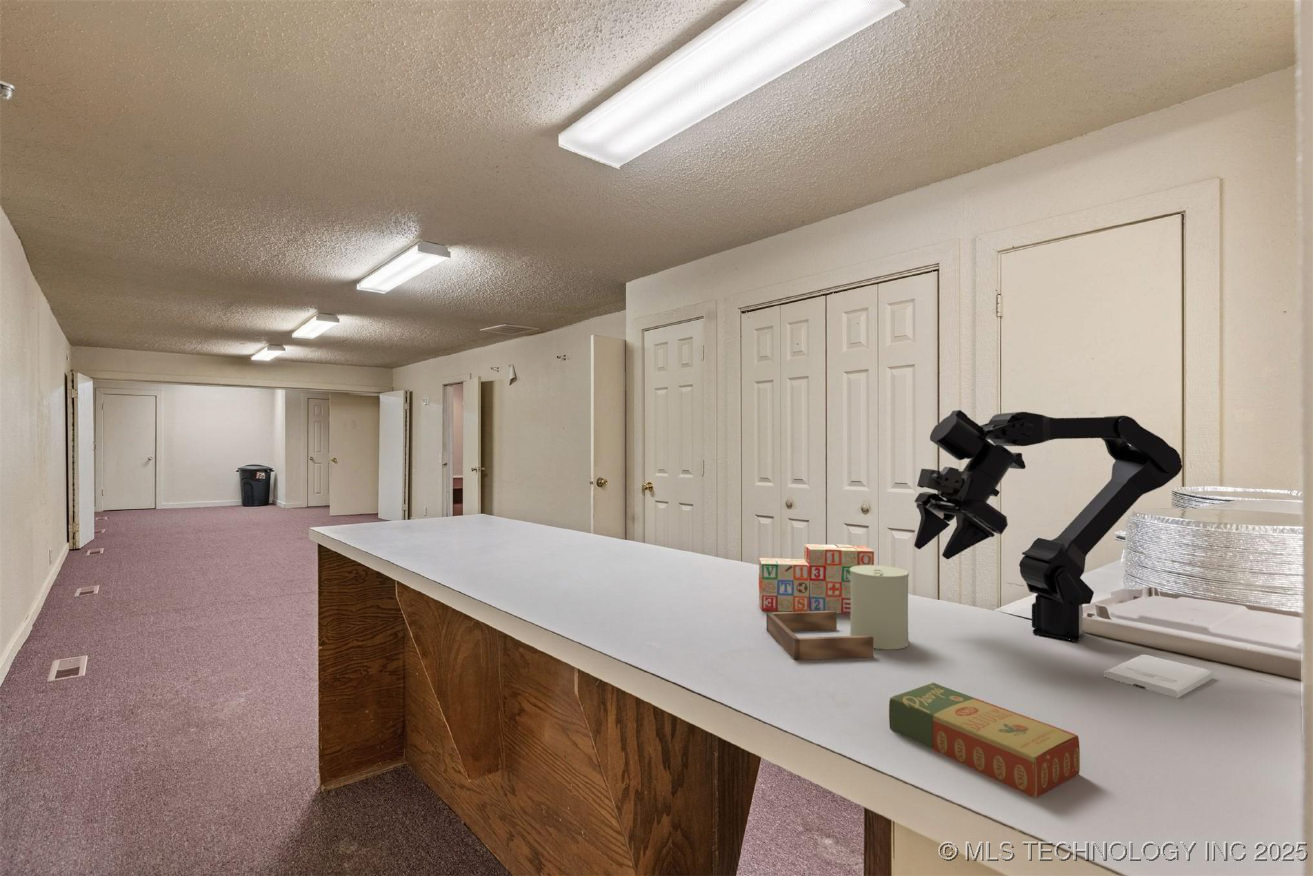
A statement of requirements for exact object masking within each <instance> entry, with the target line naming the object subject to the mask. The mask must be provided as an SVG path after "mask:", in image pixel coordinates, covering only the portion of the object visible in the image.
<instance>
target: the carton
mask: <svg viewBox="0 0 1313 876" xmlns="http://www.w3.org/2000/svg"><path fill="white" fill-rule="evenodd" d="M888 721H889V729H890V730H891V731H893V732H896V733H897V734H899V733H900V735H902V736H904V737H906V738H908V739H910V740H912V741H915V742H916V743H919V744H921V745H923V746H925V747H927V748H929V749H931V750H934V751H935V752H937V753H939V754H942V755H943V756H946V757H949V758H950V759H952V760H954V761H956V762H958V763H960V764H963V765H964V766H966V767H968V768H971V769H973V770H975V771H977V772H979V773H982V774H983V775H986V776H988V777H990V778H992V779H994V780H995V781H998V782H1000V783H1002V784H1004V785H1006V786H1009V787H1010V788H1013V789H1014V790H1017V791H1019V792H1021V793H1023V794H1025V795H1027V796H1030V797H1031V798H1032V799H1033V798H1034V799H1037V798H1038V797H1040V796H1042V795H1044V794H1047V793H1048V792H1049V791H1051V790H1053V789H1055V788H1056V787H1059V786H1060V784H1061V785H1062V783H1063V784H1064V783H1066V782H1068V781H1070V780H1072V779H1074V778H1076V777H1077V776H1076V775H1078V774H1079V775H1080V770H1081V758H1080V757H1081V756H1080V755H1081V751H1080V750H1081V749H1080V739H1079V736H1078V734H1076V733H1073V732H1071V731H1067V730H1065V729H1062V728H1060V727H1056V726H1054V725H1051V724H1049V723H1046V722H1043V721H1041V720H1040V721H1039V720H1037V719H1034V718H1031V717H1028V716H1026V715H1024V714H1020V713H1017V712H1016V711H1015V712H1014V711H1012V710H1009V709H1006V708H1004V707H1001V706H998V705H996V704H993V703H990V702H987V701H984V700H982V699H979V698H976V697H973V696H971V695H968V694H966V693H962V692H960V691H957V690H954V689H952V688H949V687H945V686H943V685H940V684H939V683H936V682H931V683H927V684H926V685H922V686H920V687H917V688H914V689H911V690H908V691H905V692H901V693H899V694H896V695H892V696H890V698H889V704H888ZM1079 775H1078V776H1079ZM1075 776H1076V777H1075ZM1073 777H1074V778H1073ZM1071 778H1072V779H1071ZM1069 779H1070V780H1069Z"/></svg>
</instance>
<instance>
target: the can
mask: <svg viewBox="0 0 1313 876" xmlns="http://www.w3.org/2000/svg"><path fill="white" fill-rule="evenodd" d="M909 575H910V573H909V571H908V570H906V569H903V568H900V567H895V566H889V565H880V564H879V565H878V564H876V565H875V564H874V565H859V566H853V567H851V568H850V581H851V614H850V630H849V631H850V632H849V636H867V635H871V636H873V649H874V648H875V649H874V650H881V651H882V650H885V651H893V650H902V649H901V648H903V649H906V648H907V647H909V645H910V640H909ZM905 647H906V648H905Z"/></svg>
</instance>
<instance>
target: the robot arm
mask: <svg viewBox="0 0 1313 876" xmlns="http://www.w3.org/2000/svg"><path fill="white" fill-rule="evenodd" d="M1065 439H1066V440H1069V439H1074V440H1075V439H1101V440H1102V441H1103V442H1104V444H1105V448H1106V451H1107V454H1109V456H1110V457H1111V458H1113V460H1114V463H1112V467H1111V476H1110V477H1111V478H1110V479H1109V481H1108V482H1107V483H1106V484H1105V485H1104V487H1103V488H1102V489H1100V490H1099V492H1098V493H1097V494H1096V495H1095V496H1094V497H1093V498H1092V500H1090V501H1089V503H1088V504H1087V505H1086V506H1085V507H1084V508H1083V509H1082V510H1081V511H1080V512H1079V513H1078V514H1077V516H1075V517H1074V519H1073V520H1071V522H1070V523H1069V524H1068V525H1067V526H1066V528H1064V530H1062V532H1061V533H1060V534H1059V535H1058V536H1056V537H1055V538H1053V539H1048V538H1047V539H1046V538H1041V537H1037V538H1036V539H1035V540H1034V541H1033V542H1032V543H1031V546H1030V547H1029V548H1028V549H1027V550H1025V551H1022V552H1021V554H1022V556H1023V557H1022V558H1021V560H1020V561H1019V564H1018V566H1019V572H1020V576H1021V578H1022V579H1023V581H1024V582H1025V583H1026V586H1027V589H1028V591H1029V593H1033V594H1036V595H1035V600H1034V602H1033V603H1032V604H1031V627H1032V634H1034V635H1039V636H1043V635H1046V636H1045V637H1049V636H1050V638H1054V637H1057V638H1056V639H1059V638H1062V639H1061V640H1064V639H1070V640H1074V641H1073V642H1075V641H1079V642H1080V641H1081V639H1082V638H1083V637H1084V636H1085V634H1086V631H1085V630H1083V605H1090V604H1091V603H1092V600H1093V597H1094V594H1095V593H1094V590H1093V589H1092V588H1091V587H1090V586H1089V585H1088V584H1087V583H1086V582H1085V581H1084V580H1083V579H1082V576H1083V575H1084V572H1085V570H1086V569H1085V566H1086V558H1087V556H1088V554H1089V553H1090V552H1091V551H1092V550H1093V549H1094V547H1096V546H1097V544H1098V543H1099V542H1101V540H1102V539H1103V538H1104V536H1106V535H1107V534H1108V532H1109V531H1111V530H1112V528H1113V527H1114V526H1115V525H1116V524H1117V523H1118V522H1119V521H1120V519H1121V518H1123V516H1125V514H1126V513H1127V512H1128V511H1129V509H1130V508H1132V506H1133V505H1134V504H1135V503H1136V502H1137V501H1138V500H1139V499H1140V498H1141V497H1142V496H1144V495H1146V494H1149V493H1150V492H1153V491H1155V490H1157V489H1160V488H1162V487H1165V485H1167V484H1168V483H1170V481H1172V480H1173V479H1175V478H1176V477H1177V476H1178V475H1179V474H1180V472H1181V471H1182V468H1183V464H1182V458H1181V455H1180V454H1179V452H1178V451H1177V449H1175V448H1174V447H1173V446H1170V445H1169V444H1168V442H1166V441H1165V440H1164V439H1163V438H1162V437H1160V436H1158V435H1157V434H1155V433H1153V432H1151V431H1150V430H1148V429H1146V428H1144V427H1142V426H1141V425H1140V424H1139V422H1137V420H1136V419H1134V418H1133V417H1131V416H1128V415H1125V414H1123V415H1110V416H1109V415H1108V416H1103V417H1101V416H1099V417H1098V416H1097V417H1096V416H1095V417H1089V416H1088V417H1051V416H1047V415H1045V414H1040V413H1035V412H1034V413H1033V412H1028V411H1017V412H1014V411H1013V412H1003V413H1002V412H1001V413H997V414H994V415H993V416H992V417H991V418H990V420H989V421H988V422H987V423H985V424H981V425H980V424H978V423H977V422H976V421H974V420H973V419H971V418H970V417H969V416H968V415H967V414H966V413H965V412H964V411H963V410H961V409H958V410H952V411H951V413H950V414H949V415H948V416H946V417H944V419H941V421H940V422H939V423H938V424H936V425H935V426H934V427H933V429H932V431H931V433H930V435H929V441H930V442H932V443H933V444H935V445H936V446H937V447H939V448H940V449H942V450H943V451H944V452H946V454H948V455H950V456H951V457H953V458H954V459H956V460H957V461H963V460H965V459H966V460H968V462H967V463H966V465H965V467H964V468H963V469H962V471H961V470H959V468H957V467H951V466H944V467H943V468H942V469H941V470H938V469H937V470H936V469H931V468H921V470H920V472H919V477H918V481H917V485H916V487H918V488H920V489H921V488H923V489H924V488H927V489H930V490H934V491H937V493H936V492H930V491H924V492H919V493H918V495H917V496H916V498H915V500H914V503H915V504H916V509H918V511H919V515H920V521H919V526H918V529H917V533H916V537H915V540H914V544H913V547H914V548H916V549H917V550H921V549H923V548H924V547H925V546H927V545H928V544H929V543H931V542H932V541H933V540H934V539H935V538H937V536H939V534H941V533H942V532H943V531H945V530H946V529H947V528H948V527H950V525H951V523H949V522H952V521H953V520H954V519H955V521H956V526H955V528H954V530H953V532H952V534H951V536H950V538H949V539H948V541H947V543H946V545H945V547H944V549H943V552H942V554H941V556H942V558H944V559H945V560H950V559H952V558H953V557H955V556H956V555H959V554H961V553H962V552H964V551H966V550H967V549H970V548H971V547H974V546H976V545H977V544H979V543H981V542H982V541H985V540H988V539H989V538H994V537H995V536H996V535H995V534H997V535H1002V534H1003V533H1004V532H1005V530H1006V529H1007V527H1008V526H1009V523H1008V516H1007V515H1005V514H1003V513H1002V512H1001V511H1000V510H998V509H996V507H994V506H993V505H991V504H989V503H988V500H989V499H990V498H991V497H995V498H997V497H998V496H999V494H1000V493H1001V491H999V490H998V489H997V487H998V486H999V484H1000V482H1002V480H1003V478H1004V477H1005V475H1006V473H1007V472H1008V471H1009V469H1017V470H1025V469H1026V467H1027V466H1026V463H1025V461H1024V458H1023V453H1022V452H1012V451H1011V450H1009V449H1008V448H1007V447H1027V446H1034V445H1039V444H1043V443H1045V442H1049V441H1053V440H1065ZM989 440H990V441H989ZM1081 637H1082V638H1081ZM1080 638H1081V639H1080ZM1070 640H1069V641H1070Z"/></svg>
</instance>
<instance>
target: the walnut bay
mask: <svg viewBox="0 0 1313 876" xmlns="http://www.w3.org/2000/svg"><path fill="white" fill-rule="evenodd" d="M837 614H838V613H837V612H836V611H807V612H794V611H792V612H789V611H773V612H772V611H770V612H766V631H767V632H768V633H769V634H770V635H771V637H772V638H774V639H775V641H776V642H777V643H778V644H779V645H780V646H781V647H782V649H784V650H785V651H786V653H788V655H790V656H791V658H792V659H793V660H794V661H797V660H798V661H800V660H823V659H853V658H855V659H856V658H874V648H873V636H871V635H867V636H850V635H844V636H843V635H842V636H812V637H811V636H809V637H807V636H806V637H798V636H797V635H796V634H795V633H794V631H796V632H797V631H820V630H821V631H822V630H837V628H838V627H837V626H838V625H837V624H838V623H837V622H838V621H837V620H838V619H837V617H838V615H837Z"/></svg>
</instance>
